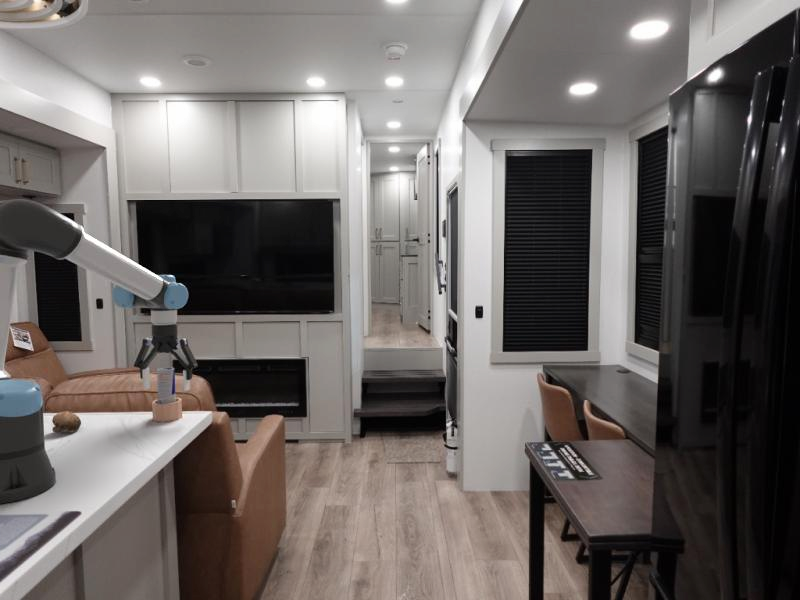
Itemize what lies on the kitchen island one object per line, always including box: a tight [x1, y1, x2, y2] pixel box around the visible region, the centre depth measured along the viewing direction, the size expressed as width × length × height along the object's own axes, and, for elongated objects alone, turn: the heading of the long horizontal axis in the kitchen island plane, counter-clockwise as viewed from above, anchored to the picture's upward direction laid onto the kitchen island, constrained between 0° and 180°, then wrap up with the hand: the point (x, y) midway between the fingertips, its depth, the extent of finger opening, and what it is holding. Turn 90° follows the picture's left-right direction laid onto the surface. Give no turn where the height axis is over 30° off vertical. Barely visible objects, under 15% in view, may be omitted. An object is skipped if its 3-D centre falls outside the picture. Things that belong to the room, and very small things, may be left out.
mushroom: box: [51, 410, 82, 434], centre depth 153 cm, size 8×8×6 cm
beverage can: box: [156, 366, 177, 404], centre depth 166 cm, size 5×5×15 cm
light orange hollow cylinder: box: [151, 397, 183, 423], centre depth 166 cm, size 9×9×6 cm
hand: (166, 389), depth 166 cm, fingers open, 13 cm apart
